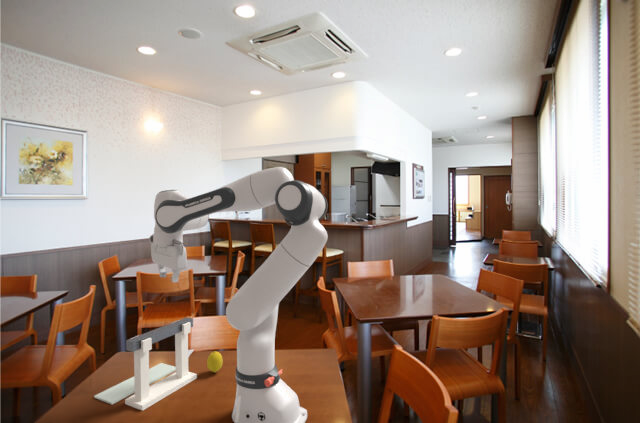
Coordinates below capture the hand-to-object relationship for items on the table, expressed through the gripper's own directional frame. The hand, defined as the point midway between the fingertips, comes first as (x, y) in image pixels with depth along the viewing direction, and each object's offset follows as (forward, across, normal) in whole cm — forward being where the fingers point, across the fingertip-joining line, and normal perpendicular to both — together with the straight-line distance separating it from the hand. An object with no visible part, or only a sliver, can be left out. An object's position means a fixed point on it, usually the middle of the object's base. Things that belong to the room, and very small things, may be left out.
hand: (168, 279), depth 120 cm
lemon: (+37, -1, -16) cm, 41 cm away
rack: (+37, 0, +2) cm, 37 cm away
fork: (+38, +17, -14) cm, 44 cm away
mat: (+37, +12, +6) cm, 40 cm away
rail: (+19, 0, +2) cm, 19 cm away
